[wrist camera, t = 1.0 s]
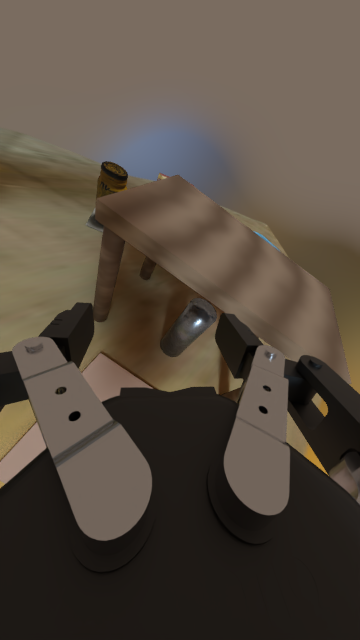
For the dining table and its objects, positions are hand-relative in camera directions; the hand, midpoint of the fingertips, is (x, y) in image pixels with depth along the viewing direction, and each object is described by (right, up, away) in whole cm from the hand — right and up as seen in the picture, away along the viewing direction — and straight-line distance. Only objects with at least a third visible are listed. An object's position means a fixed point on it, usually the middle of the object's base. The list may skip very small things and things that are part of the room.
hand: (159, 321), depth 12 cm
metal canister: (0, -5, +24) cm, 25 cm away
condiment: (-17, +24, +35) cm, 46 cm away
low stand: (+1, -2, +27) cm, 27 cm away
